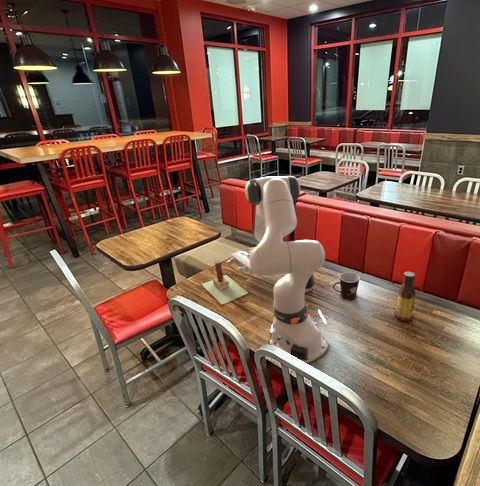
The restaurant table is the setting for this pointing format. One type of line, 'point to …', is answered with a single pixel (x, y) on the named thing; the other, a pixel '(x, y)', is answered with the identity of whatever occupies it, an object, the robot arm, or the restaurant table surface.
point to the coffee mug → (348, 285)
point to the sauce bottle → (406, 298)
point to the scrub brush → (220, 277)
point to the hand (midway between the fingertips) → (231, 266)
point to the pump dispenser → (309, 284)
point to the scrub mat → (225, 291)
